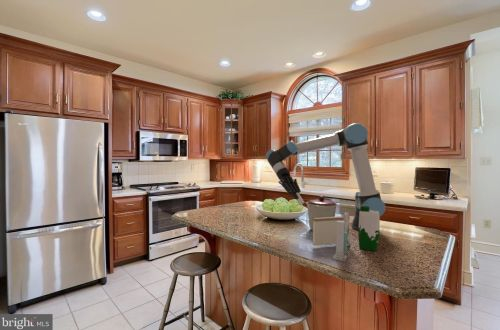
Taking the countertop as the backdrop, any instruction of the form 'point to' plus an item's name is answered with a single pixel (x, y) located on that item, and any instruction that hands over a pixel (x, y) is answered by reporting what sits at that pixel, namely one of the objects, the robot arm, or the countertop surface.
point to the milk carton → (368, 228)
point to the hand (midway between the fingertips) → (302, 203)
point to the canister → (320, 209)
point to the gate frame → (342, 238)
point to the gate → (325, 230)
